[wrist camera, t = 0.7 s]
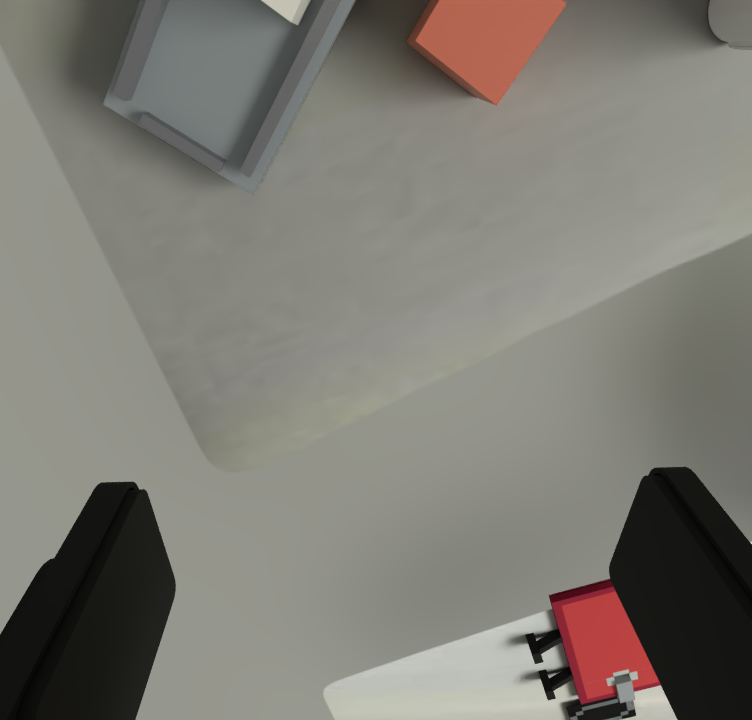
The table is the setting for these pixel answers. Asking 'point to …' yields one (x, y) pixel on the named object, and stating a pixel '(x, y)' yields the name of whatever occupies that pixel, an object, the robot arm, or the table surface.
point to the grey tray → (222, 77)
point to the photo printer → (732, 22)
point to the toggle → (289, 8)
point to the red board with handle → (595, 653)
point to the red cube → (483, 40)
